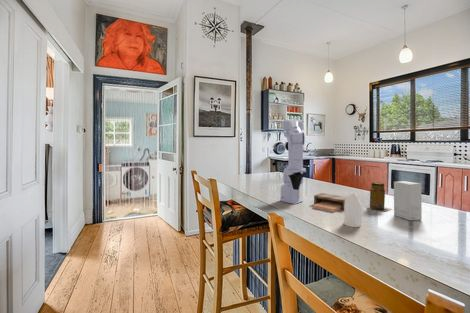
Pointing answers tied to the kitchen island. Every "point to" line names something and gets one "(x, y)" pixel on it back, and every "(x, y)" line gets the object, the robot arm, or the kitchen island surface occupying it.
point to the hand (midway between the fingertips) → (295, 189)
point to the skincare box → (407, 200)
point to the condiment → (377, 197)
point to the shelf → (329, 198)
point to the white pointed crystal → (352, 211)
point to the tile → (328, 206)
